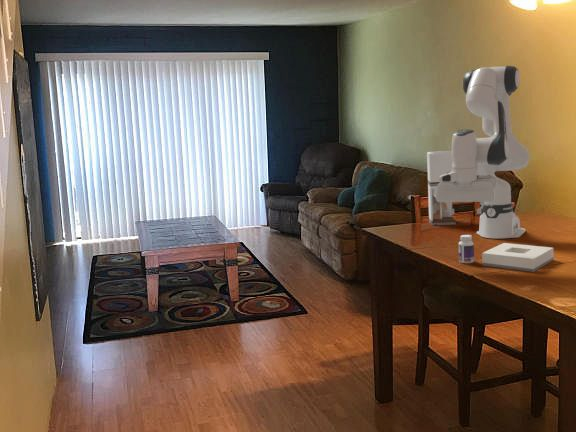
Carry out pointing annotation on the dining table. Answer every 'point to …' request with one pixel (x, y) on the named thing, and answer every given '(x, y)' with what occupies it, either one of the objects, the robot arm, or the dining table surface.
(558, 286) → the dining table surface
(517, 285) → the dining table surface
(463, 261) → the pill bottle
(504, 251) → the socket holder
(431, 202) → the white dispenser
